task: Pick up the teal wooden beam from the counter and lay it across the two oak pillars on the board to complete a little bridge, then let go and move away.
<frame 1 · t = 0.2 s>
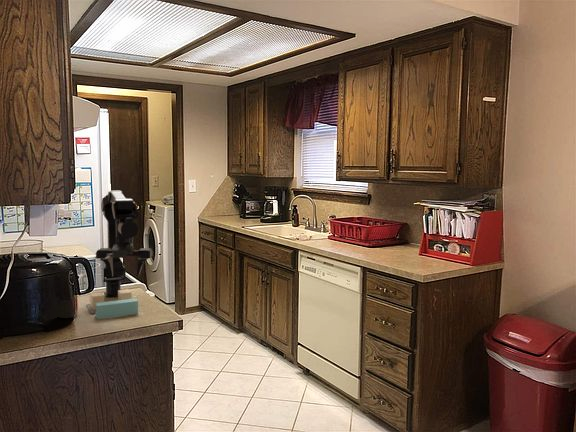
hand: (125, 276, 176), 14 cm above the counter, tool pointing down, fingers open, 9 cm apart
soda can: (67, 317, 173), on the counter
teal beam: (117, 315, 176), on the counter
bridge base: (111, 306, 186), on the counter
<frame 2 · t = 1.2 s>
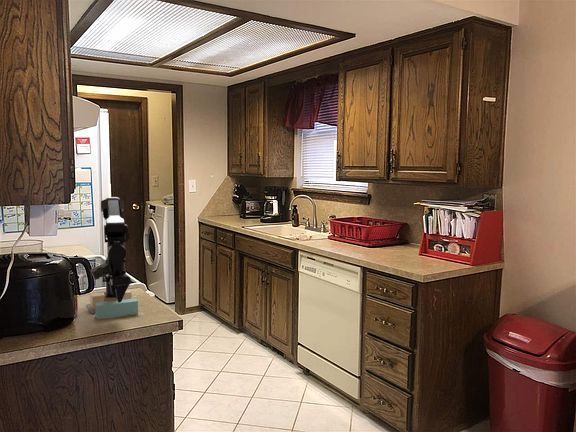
hand: (116, 299, 176), 6 cm above the counter, tool pointing down, fingers open, 9 cm apart
nothing on the counter moved.
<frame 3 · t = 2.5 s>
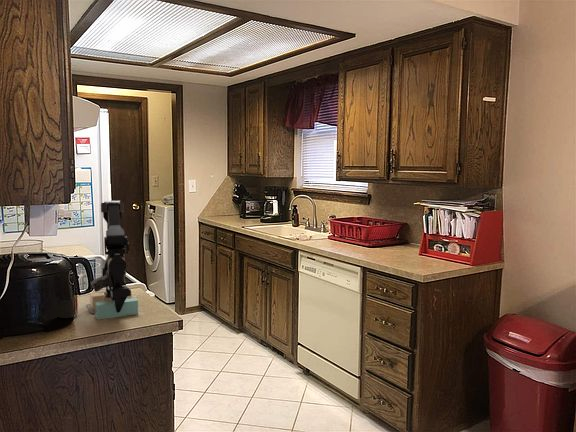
hand: (117, 310, 176), 2 cm above the counter, tool pointing down, fingers closed on teal beam, 4 cm apart
teal beam: (117, 315, 176), on the counter, touching gripper
everything else where it was.
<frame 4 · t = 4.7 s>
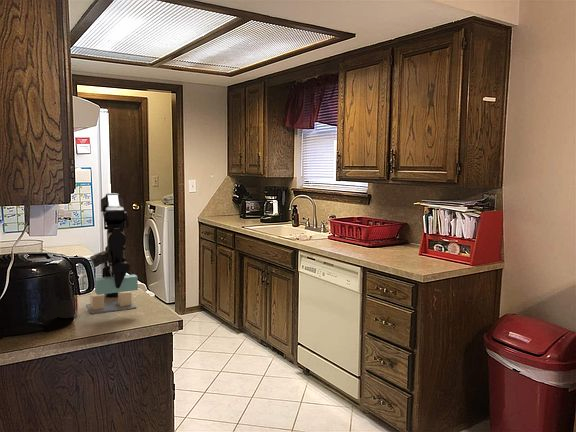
hand: (116, 286, 175), 10 cm above the counter, tool pointing down, fingers closed on teal beam, 4 cm apart
teal beam: (116, 291, 175), point 9 cm above the counter, touching gripper
everything else where it was.
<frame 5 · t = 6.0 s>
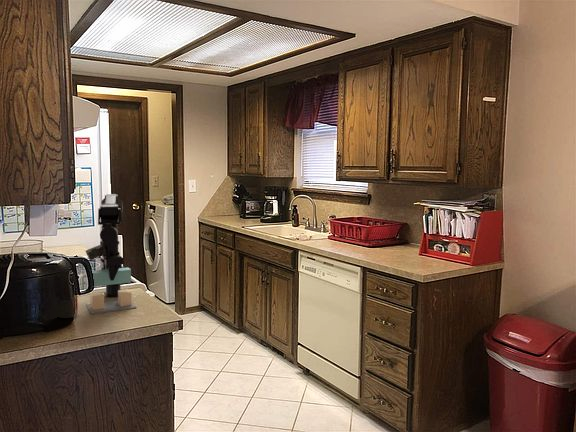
hand: (110, 279, 184), 11 cm above the counter, tool pointing down, fingers closed on teal beam, 4 cm apart
teal beam: (111, 283, 185), point 9 cm above the counter, touching gripper
everything else where it was.
when the fingers open (9 cm above the counter, at t = 6.9 s): teal beam drops 1 cm, resting on bridge base.
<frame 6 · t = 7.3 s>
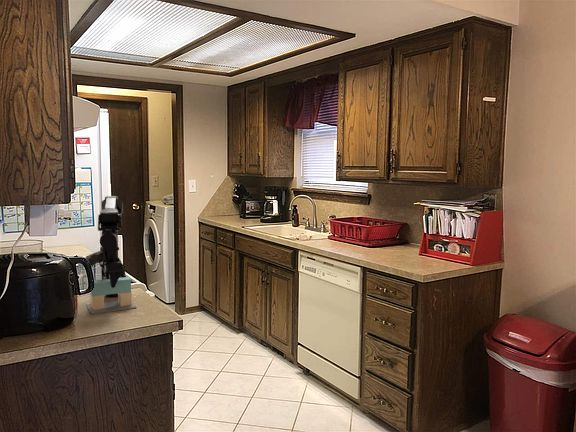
hand: (110, 285, 185), 9 cm above the counter, tool pointing down, fingers open, 8 cm apart
teal beam: (111, 292, 185), point 5 cm above the counter, touching bridge base
everything else where it was.
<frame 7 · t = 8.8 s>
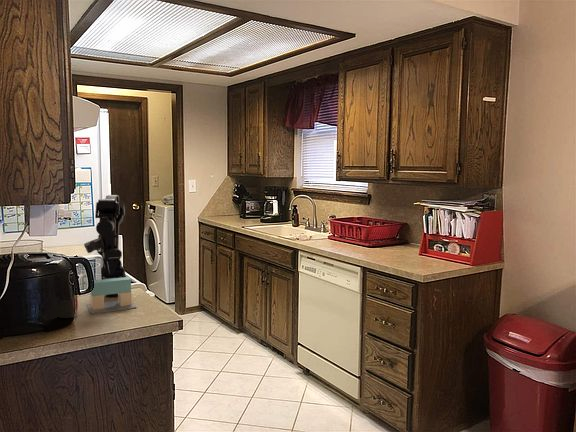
hand: (108, 271, 188), 13 cm above the counter, tool pointing down, fingers open, 9 cm apart
nothing on the counter moved.
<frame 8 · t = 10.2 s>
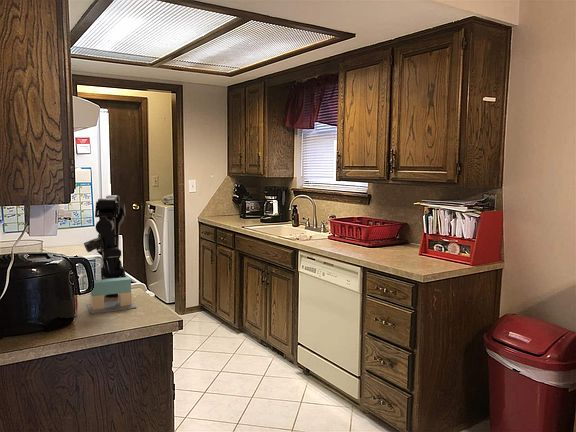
hand: (108, 271, 188), 13 cm above the counter, tool pointing down, fingers open, 9 cm apart
nothing on the counter moved.
at the end: teal beam 0.1 cm off-centre on the bridge base, point 5.5 cm above the bridge base's base; teal beam tilted 0°; the gripper is holding nothing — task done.
